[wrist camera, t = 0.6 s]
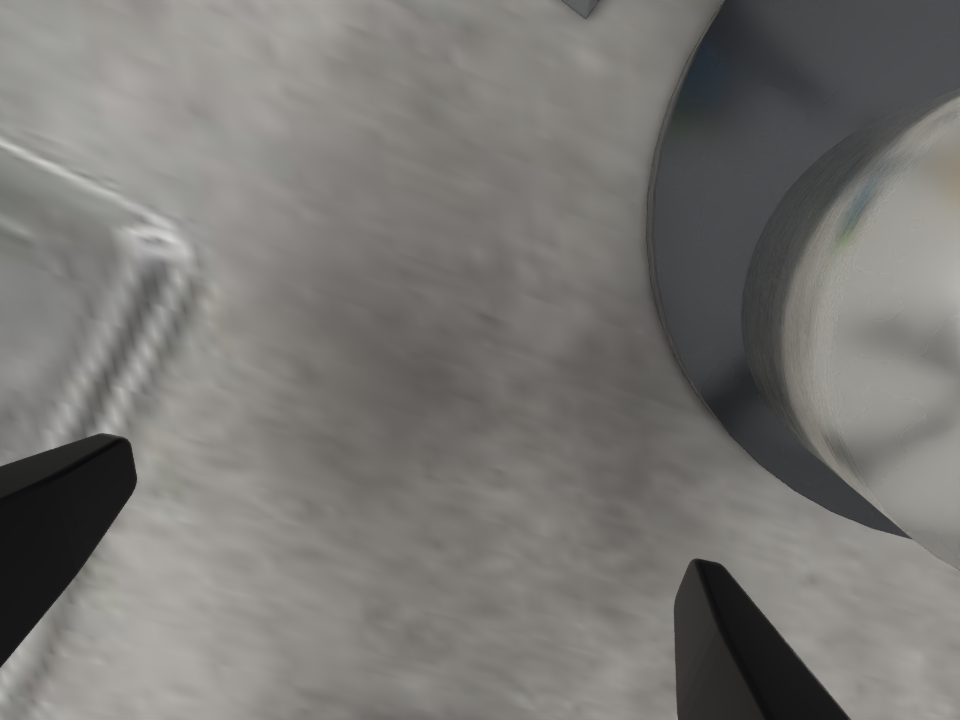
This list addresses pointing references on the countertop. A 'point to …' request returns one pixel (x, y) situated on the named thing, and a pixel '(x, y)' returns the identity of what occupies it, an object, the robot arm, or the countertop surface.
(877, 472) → the cover
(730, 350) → the turntable
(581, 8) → the gauge stand
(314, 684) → the countertop surface
